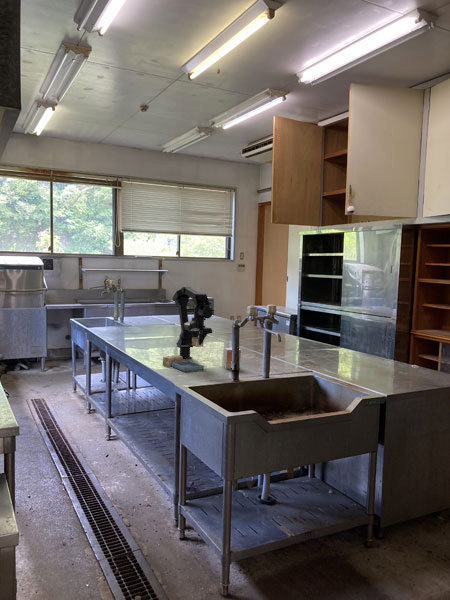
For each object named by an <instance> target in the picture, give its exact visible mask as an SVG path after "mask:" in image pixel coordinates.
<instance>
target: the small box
mask: <svg viewBox="0 0 450 600" xmlns="http://www.w3.org/2000/svg"><path fill="white" fill-rule="evenodd" d="M232 348H233V347H224V349H223V350H224V352H223V364H222V365H223V368H225V369H227V370H228V369H231V361H232ZM241 355H242V349H240V348H239V367H240V368H241V358H242V357H241ZM231 370H232V369H231Z"/></svg>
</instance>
